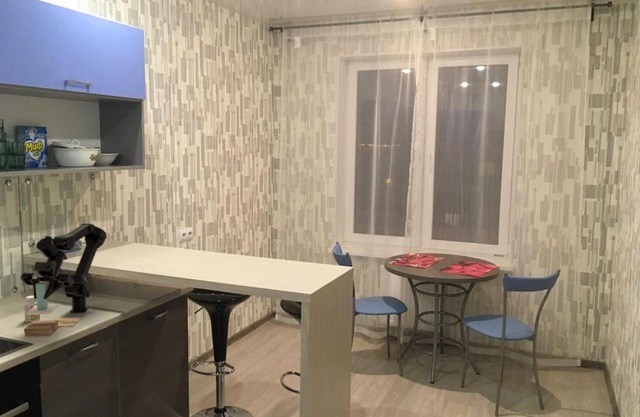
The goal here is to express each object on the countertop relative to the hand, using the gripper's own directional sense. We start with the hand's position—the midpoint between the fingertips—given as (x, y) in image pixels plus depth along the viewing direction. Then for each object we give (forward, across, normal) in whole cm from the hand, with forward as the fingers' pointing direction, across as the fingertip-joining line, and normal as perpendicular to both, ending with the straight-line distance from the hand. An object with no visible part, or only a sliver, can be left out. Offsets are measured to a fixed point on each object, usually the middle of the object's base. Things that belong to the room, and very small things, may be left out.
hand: (39, 298), depth 205 cm
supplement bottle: (0, -12, +19) cm, 23 cm away
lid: (+3, 0, +5) cm, 5 cm away
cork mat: (+2, +3, +17) cm, 18 cm away
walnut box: (+9, 0, +10) cm, 13 cm away
